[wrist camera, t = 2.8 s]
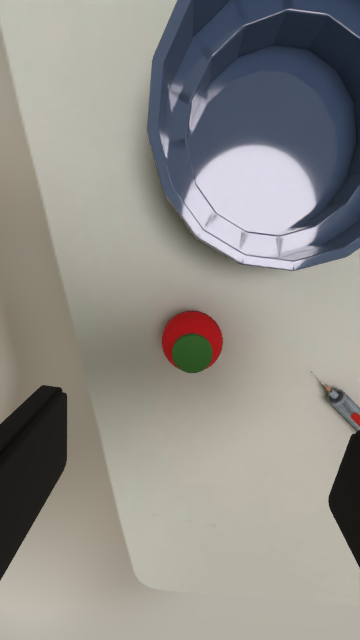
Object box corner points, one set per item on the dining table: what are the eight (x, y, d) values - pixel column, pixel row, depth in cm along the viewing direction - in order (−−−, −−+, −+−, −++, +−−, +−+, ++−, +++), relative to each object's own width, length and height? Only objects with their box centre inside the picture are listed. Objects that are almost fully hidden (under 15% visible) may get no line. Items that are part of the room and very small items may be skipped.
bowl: (151, 248, 18) (137, 250, 13) (174, -1, 14) (166, -122, 10) (343, 273, 18) (397, 284, 13) (415, 30, 14) (528, -77, 10)
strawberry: (162, 352, 20) (154, 380, 16) (168, 301, 19) (161, 317, 15) (214, 359, 20) (220, 389, 16) (223, 308, 19) (232, 326, 15)
